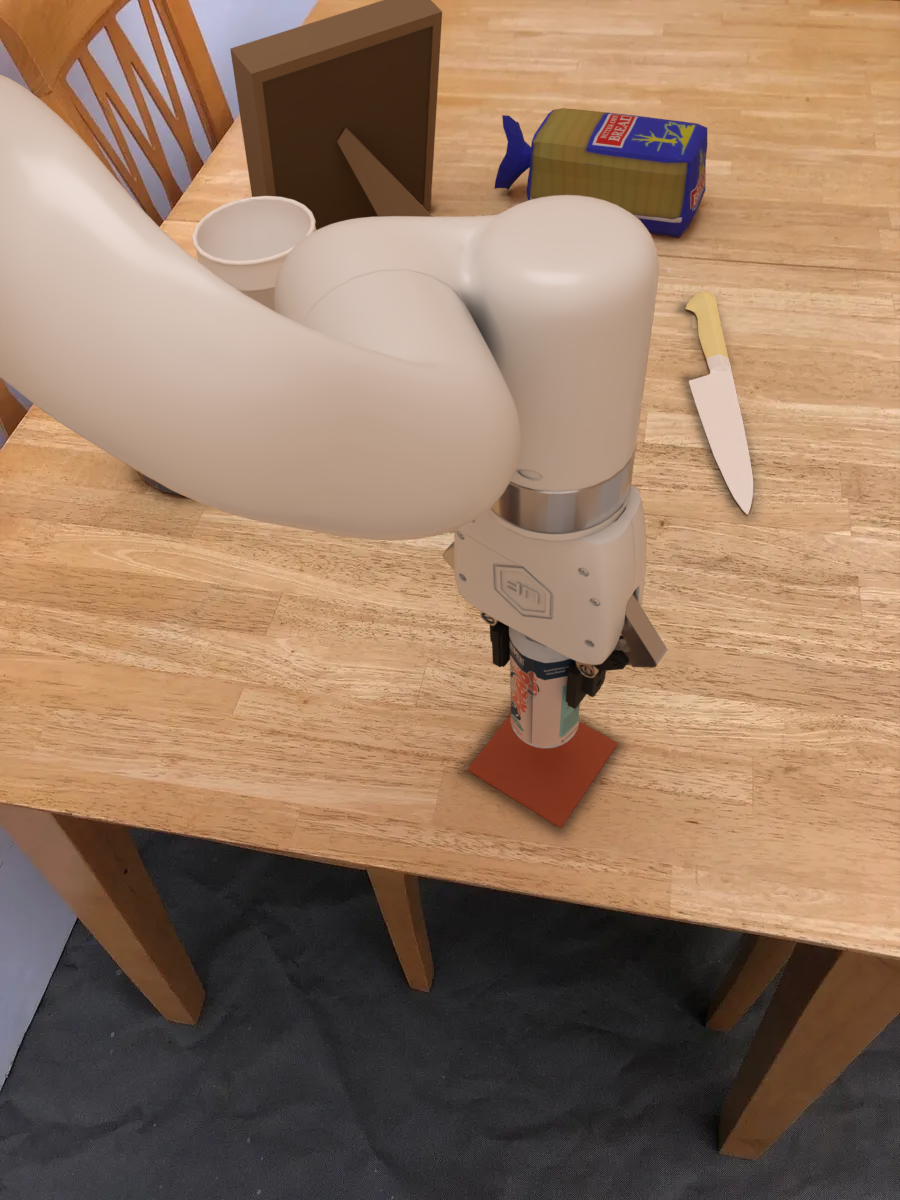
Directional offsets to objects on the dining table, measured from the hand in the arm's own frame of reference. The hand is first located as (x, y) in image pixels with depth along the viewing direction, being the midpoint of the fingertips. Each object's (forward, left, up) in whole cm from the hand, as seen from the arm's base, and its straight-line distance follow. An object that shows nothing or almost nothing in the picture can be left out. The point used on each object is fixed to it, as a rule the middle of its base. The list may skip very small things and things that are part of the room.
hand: (546, 668), depth 59 cm
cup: (+27, +51, -12) cm, 59 cm away
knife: (+44, +7, -12) cm, 46 cm away
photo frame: (+46, +54, -12) cm, 72 cm away
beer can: (0, 0, -7) cm, 7 cm away
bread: (+68, +35, -12) cm, 78 cm away
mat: (0, 0, -12) cm, 12 cm away
